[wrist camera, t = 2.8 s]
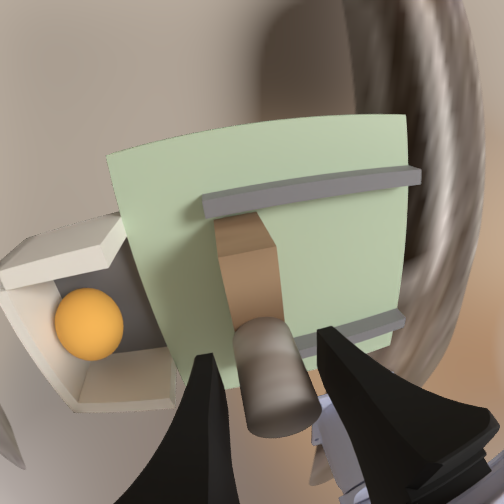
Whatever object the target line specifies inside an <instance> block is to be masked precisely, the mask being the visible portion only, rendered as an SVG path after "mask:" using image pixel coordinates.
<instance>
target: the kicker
mask: <svg viewBox="0 0 504 504" xmlns="http://www.w3.org/2000/svg"><path fill="white" fill-rule="evenodd" d="M213 221H214V229H215V238H216V246H217V254H218V260H219V265H220V270H221V274H222V279H223V283H224V288H225V292H226V297H227V301H228V305H229V310H230V314H231V318H232V322H233V327H234V331H235V334H234V337H233V349H234V355H235V361H236V367H237V372H238V378H239V384H240V389H241V395H242V400H243V406H244V412H245V417H246V423H247V428H248V430H249V431H250V432H251V433H252V434H254V435H256V436H258V437H263V438H280V437H286V436H290V435H293V434H296V433H299V432H301V431H303V430H305V429H306V428H308V427H310V426H311V425H312V424H314V423H315V422H316V421H317V420H318V418H319V417H320V415H321V413H322V407H321V404H320V401H319V399H318V397H317V394H316V392H315V389H314V387H313V385H312V382H311V379H310V377H309V375H308V372H307V370H306V367H305V365H304V362H303V360H302V358H301V355H300V353H299V350H298V348H297V345H296V343H295V341H294V338H293V336H292V333H291V331H290V328H289V327H288V325H287V324H286V323H285V319H284V309H283V300H282V290H281V281H280V272H279V263H278V254H277V246H276V244H275V243H274V241H273V239H272V237H271V236H270V234H269V232H268V231H267V229H266V227H265V225H264V224H263V222H262V220H261V219H260V217H259V215H258V213H257V212H251V213H246V214H240V215H235V216H230V217H225V218H220V219H215V220H213Z"/></svg>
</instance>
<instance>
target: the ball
mask: <svg viewBox="0 0 504 504" xmlns="http://www.w3.org/2000/svg"><path fill="white" fill-rule="evenodd" d="M123 327H124V325H123V318H122V314H121V312H120V309H119V308H118V306H117V304H116V303H115V302H114V300H113V299H112V298H111V297H110V296H108V295H107V294H106V293H104V292H102V291H100V290H97V289H94V288H80V289H77V290H74V291H72V292H70V293H69V294H68V295H66V296H65V297H64V298H63V299H62V301H61V302H60V304H59V306H58V308H57V311H56V315H55V329H56V333H57V336H58V338H59V340H60V342H61V344H62V345H63V347H64V348H65V349H66V350H67V351H68V352H69V353H71V354H72V355H74V356H75V357H77V358H79V359H82V360H87V361H96V360H100V359H103V358H106V357H107V356H109V355H110V354H112V353H113V352H114V351H115V350H116V348H117V347H118V345H119V344H120V342H121V339H122V336H123Z"/></svg>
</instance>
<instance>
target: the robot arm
mask: <svg viewBox="0 0 504 504" xmlns="http://www.w3.org/2000/svg"><path fill="white" fill-rule="evenodd" d="M317 368H318V371H319V374H320V377H321V379H322V382H323V385H324V388H325V390H326V392H327V394H324V395H321V396H317V397H318V399H319V401H320V404H321V407H322V413H321V415H320V417H319V418H318V420H317V421H316V422H315V423H314V424H312V439H311V443H312V445H314V446H315V445H319V444H322V446H323V449H324V451H325V454H326V457H327V460H328V462H329V465H330V468H331V470H332V473H333V476H334V478H335V481H336V483H337V485H338V487H339V488H340V489H341V490H342V492H343V494H344V495H343V496H341V497H339V501H340V504H504V450H503V451H502V452H500V453H499V454H498V455H497V456H496V457H495V458H493V459H492V460H491V461H489V462H488V463H487V462H486V460H485V459H484V457H485V456H486V452H485V450H484V449H483V448H484V447H485V445H486V444H487V443H488V442H489V441H490V440H491V439H492V438H493V437H494V435H495V434H496V433H497V432H498V430H499V428H500V425H499V423H498V422H497V420H496V419H495V418H494V416H493V415H492V414H491V412H490V411H489V410H488V409H487V408H482V407H477V406H472V405H468V404H464V403H460V402H457V401H453V400H450V399H447V398H444V397H442V396H439V395H437V394H434V393H432V392H429V391H427V390H424V389H422V388H420V387H418V386H416V385H414V384H412V383H410V382H408V381H406V380H405V379H403V378H401V377H399V376H398V375H396V374H394V372H391V371H390V370H388V369H387V368H385V367H384V366H382V365H381V364H379V363H378V362H376V361H375V360H374V359H372V358H371V357H370V356H368V355H367V354H366V353H364V352H363V351H362V350H361V349H359V348H358V347H357V346H356V345H354V344H353V343H352V342H351V341H350V340H348V339H347V338H346V337H345V336H344V335H343V334H341V333H340V332H339V331H338V330H337V329H336V328H334V327H333V326H329V327H325V328H321V329H317ZM228 416H229V415H228V406H227V400H226V394H225V388H224V384H223V381H222V378H221V376H220V373H219V370H218V367H217V364H216V361H215V358H214V355H213V353H207V354H201V355H196V357H195V358H194V362H193V366H192V370H191V373H190V377H189V380H188V383H187V386H186V389H185V391H184V394H183V397H182V400H181V402H180V405H179V407H178V409H177V412H176V414H175V416H174V418H173V421H172V423H171V425H170V427H169V429H168V431H167V433H166V435H165V436H164V438H163V440H162V442H161V444H160V445H159V447H158V449H157V450H156V452H155V453H154V455H153V457H152V458H151V460H150V461H149V463H148V464H147V466H146V467H145V468H144V469H143V471H142V472H141V473H140V475H139V476H138V477H137V479H136V480H135V481H134V482H133V484H132V485H131V486H130V487H129V488H128V489H127V490H126V492H125V493H124V494H123V495H122V496H121V497H120V498H119V499H118V500H117V501H116V502H115V503H114V504H240V503H239V498H238V494H237V489H236V484H235V479H234V474H233V468H232V461H231V448H230V431H229V417H228Z"/></svg>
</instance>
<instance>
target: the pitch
mask: <svg viewBox="0 0 504 504" xmlns="http://www.w3.org/2000/svg"><path fill="white" fill-rule="evenodd" d="M106 160H107V164H108V168H109V172H110V176H111V180H112V184H113V189H114V193H115V196H116V200H117V204H118V207H119V212H116V213H112V214H108V215H104V216H100V217H97V218H93V219H89V220H85V221H82V222H79V223H75V224H72V225H68V226H64V227H61V228H58V229H54V230H52V231H48V232H45V233H42V234H38V235H35V236H32V237H29V238H26V239H25V240H23V241H22V242H21V243H20V244H19V245H18V246H16V247H15V248H14V249H13V250H12V251H11V252H10V253H9V254H7V255H6V256H5V257H4V258H3V259H2V260H1V261H0V306H1V308H2V310H3V311H4V313H5V315H6V317H7V319H8V321H9V322H10V324H11V326H12V328H13V329H14V331H15V333H16V334H17V336H18V338H19V339H20V341H21V342H22V344H23V346H24V347H25V349H26V350H27V352H28V353H29V355H30V356H31V358H32V359H33V361H34V362H35V364H36V365H37V367H38V368H39V369H40V371H41V372H42V373H43V375H44V376H45V377H46V379H47V380H48V381H49V383H50V384H51V386H52V387H53V388H54V389H55V391H56V392H57V393H58V394H59V396H60V397H61V398H62V399H63V401H64V402H65V403H66V404H67V405H68V407H69V408H70V409H71V410H72V411H73V412H74V413H114V412H137V411H150V410H163V409H173V408H175V406H176V371H177V369H178V371H179V373H180V375H181V377H182V380H183V382H184V384H185V386H187V383H188V380H189V377H190V373H191V370H192V366H193V362H194V358H195V357H196V355H201V354H207V353H213V355H214V358H215V361H216V364H217V367H218V370H219V373H220V376H221V378H222V381H223V384H224V388H225V389H230V388H235V387H240V384H239V378H238V372H237V367H236V361H235V355H234V349H233V337H234V334H235V331H234V327H233V322H232V318H231V314H230V310H229V305H228V301H227V297H226V292H225V288H224V283H223V279H222V274H221V270H220V265H219V260H218V254H217V246H216V238H215V229H214V221H213V220H215V219H220V218H225V217H230V216H235V215H240V214H246V213H251V212H257V213H258V215H259V217H260V219H261V220H262V222H263V224H264V225H265V227H266V229H267V231H268V232H269V234H270V236H271V237H272V239H273V241H274V243H275V244H276V246H277V254H278V263H279V272H280V281H281V290H282V300H283V309H284V319H285V323H286V324H287V325H288V327H289V328H290V331H291V333H292V336H293V338H294V341H295V343H296V345H297V348H298V350H299V353H300V355H301V358H302V360H303V362H304V365H305V367H306V370H307V371H310V370H314V369H318V368H317V329H321V328H325V327H329V326H333V327H334V328H336V329H337V330H338V331H339V332H340V333H341V334H343V335H344V336H345V337H346V338H347V339H348V340H350V341H351V342H352V343H353V344H354V345H356V346H357V347H358V348H359V349H361V350H362V351H363V352H364V353H369V352H372V351H375V350H378V349H381V348H383V347H386V346H389V345H390V342H391V337H392V332H393V331H394V330H397V329H400V328H403V327H404V324H405V320H406V317H405V316H404V315H403V314H402V313H401V312H400V311H399V310H398V309H397V304H398V298H399V291H400V284H401V276H402V268H403V259H404V249H405V237H406V223H407V202H408V186H411V185H419V184H421V169H418V168H415V167H412V166H409V165H408V147H407V126H406V115H398V114H353V115H329V116H314V117H301V118H290V119H282V120H272V121H264V122H257V123H249V124H242V125H235V126H229V127H223V128H218V129H212V130H206V131H201V132H196V133H191V134H186V135H181V136H177V137H173V138H168V139H164V140H160V141H155V142H151V143H147V144H143V145H140V146H136V147H132V148H129V149H125V150H121V151H118V152H115V153H112V154H109V155H106ZM80 288H94V289H97V290H100V291H102V292H104V293H106V294H107V295H108V296H110V297H111V298H112V299H113V300H114V302H115V303H116V304H117V306H118V308H119V309H120V312H121V314H122V318H123V325H124V327H123V336H122V339H121V342H120V344H119V345H118V347H117V348H116V350H115V351H114V352H113V353H112V354H110V355H109V356H107V357H106V358H103V359H100V360H96V361H87V360H82V359H79V358H77V357H75V356H74V355H72V354H71V353H69V352H68V351H67V350H66V349H65V348H64V347H63V345H62V344H61V342H60V340H59V338H58V336H57V333H56V329H55V315H56V311H57V308H58V306H59V304H60V302H61V301H62V299H63V298H64V297H65V296H66V295H68V294H69V293H70V292H72V291H74V290H77V289H80Z"/></svg>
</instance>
